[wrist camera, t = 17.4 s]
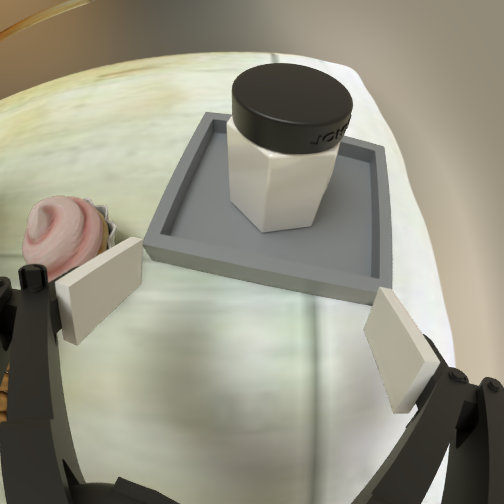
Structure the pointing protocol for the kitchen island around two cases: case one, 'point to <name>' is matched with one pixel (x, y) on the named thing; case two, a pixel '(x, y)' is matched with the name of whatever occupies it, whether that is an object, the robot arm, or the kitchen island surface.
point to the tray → (284, 241)
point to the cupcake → (66, 233)
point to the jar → (284, 142)
